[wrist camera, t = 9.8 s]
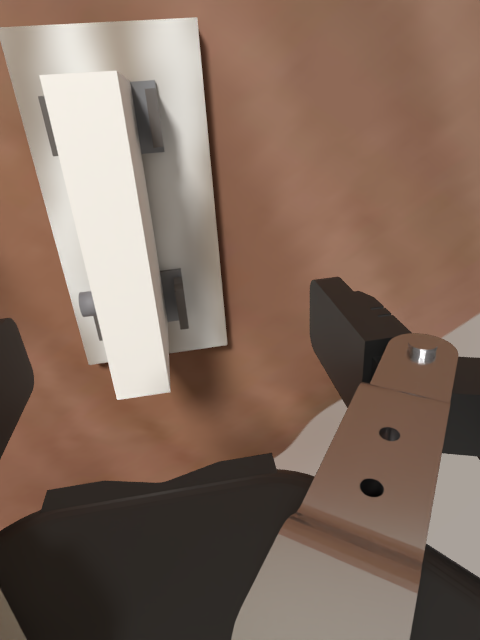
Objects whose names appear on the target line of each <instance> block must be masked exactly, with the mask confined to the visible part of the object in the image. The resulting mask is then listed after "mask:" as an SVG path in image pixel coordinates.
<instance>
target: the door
mask: <svg viewBox="0 0 480 640" xmlns="http://www.w3.org/2000/svg"><path fill="white" fill-rule="evenodd" d="M39 77H40V81H41V85H42V89H43V93H44V97H45V101H46V106H47V110H48V114H49V118H50V122H51V126H52V131H53V135H54V139H55V143H56V147H57V151H58V156H59V160H60V164H61V168H62V172H63V176H64V181H65V185H66V189H67V193H68V197H69V201H70V206H71V210H72V214H73V218H74V222H75V226H76V231H77V235H78V239H79V243H80V247H81V251H82V256H83V260H84V264H85V268H86V272H87V276H88V280H89V285H90V289H91V291H87V292H80V293H79V307H80V312H81V314H82V316H83V317H89V316H97V318H98V322H99V326H100V330H101V335H102V339H103V343H104V347H105V351H106V355H107V360H108V364H109V368H110V372H111V376H112V380H113V385H114V389H115V393H116V397H117V400H120V399H127V398H134V397H140V396H147V395H154V394H160V393H167V392H170V370H169V344H168V321H167V315H166V308H165V302H164V296H163V289H162V283H161V276H160V270H159V264H158V257H157V251H156V244H155V238H154V232H153V225H152V219H151V212H150V206H149V200H148V193H147V187H146V180H145V174H144V168H143V161H142V155H141V148H140V142H139V136H138V129H137V123H136V116H135V110H134V104H133V97H132V91H131V84H130V81H129V80H127V79H126V78H125V77H124V76H123V75H121V74H120V73H119V72H118V71H100V72H83V73H66V74H48V75H39Z"/></svg>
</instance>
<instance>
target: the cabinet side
mask: <svg viewBox="0 0 480 640" xmlns="http://www.w3.org/2000/svg"><path fill="white" fill-rule="evenodd" d="M0 41H1V45H2V48H3V52H4V56H5V59H6V63H7V67H8V70H9V74H10V78H11V81H12V85H13V89H14V92H15V96H16V100H17V103H18V107H19V111H20V114H21V118H22V122H23V125H24V129H25V133H26V136H27V140H28V144H29V147H30V151H31V155H32V158H33V162H34V166H35V169H36V173H37V177H38V180H39V184H40V188H41V191H42V195H43V199H44V202H45V206H46V210H47V213H48V217H49V221H50V224H51V228H52V232H53V235H54V239H55V243H56V246H57V250H58V254H59V257H60V261H61V265H62V268H63V272H64V276H65V279H66V283H67V287H68V290H69V294H70V298H71V301H72V305H73V309H74V312H75V316H76V320H77V323H78V327H79V331H80V334H81V338H82V342H83V345H84V349H85V353H86V356H87V360H88V363H89V365H92V364H99V363H106V362H108V360H107V355H106V351H105V347H104V343H103V339H102V335H101V330H100V326H99V322H98V318H97V316H89V317H83V316H82V314H81V312H80V307H79V293H80V292H87V291H91V289H90V285H89V280H88V276H87V272H86V268H85V264H84V260H83V256H82V251H81V247H80V243H79V239H78V235H77V231H76V226H75V222H74V218H73V214H72V210H71V206H70V201H69V197H68V193H67V189H66V185H65V181H64V176H63V172H62V168H61V164H60V160H59V156H58V151H57V147H56V143H55V139H54V135H53V131H52V126H51V122H50V118H49V114H48V110H47V106H46V101H45V97H44V93H43V89H42V85H41V81H40V77H39V75H48V74H66V73H83V72H100V71H118V72H119V73H120V74H121V75H123V76H124V77H125V78H126V79H127V80H129V81H130V84H131V91H132V97H133V104H134V110H135V116H136V123H137V129H138V136H139V142H140V148H141V155H142V161H143V168H144V174H145V180H146V187H147V193H148V200H149V206H150V212H151V219H152V225H153V232H154V238H155V244H156V251H157V257H158V264H159V270H160V276H161V283H162V289H163V296H164V302H165V308H166V315H167V321H168V344H169V353H175V352H182V351H189V350H196V349H203V348H210V347H217V346H224V345H227V334H226V323H225V312H224V302H223V291H222V280H221V269H220V258H219V248H218V237H217V226H216V215H215V204H214V194H213V183H212V172H211V161H210V151H209V140H208V129H207V118H206V107H205V97H204V86H203V75H202V64H201V53H200V43H199V32H198V21H197V18H178V19H158V20H138V21H119V22H99V23H79V24H59V25H40V26H20V27H0Z"/></svg>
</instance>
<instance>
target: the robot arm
mask: <svg viewBox="0 0 480 640" xmlns="http://www.w3.org/2000/svg"><path fill="white" fill-rule="evenodd" d="M310 338H311V343H312V347H313V350H314V352H315V354H316V355H317V357H318V359H319V360H320V362H321V364H322V365H323V367H324V369H325V371H326V372H327V374H328V376H329V377H330V379H331V381H332V382H333V384H334V386H335V388H336V389H337V391H338V393H339V394H340V396H341V398H342V400H343V401H344V403H345V404H346V406H347V408H348V409H347V411H346V413H345V415H344V417H343V419H342V421H341V423H340V425H339V428H338V430H337V432H336V434H335V436H334V438H333V440H332V442H331V444H330V446H329V448H328V451H327V452H326V454H325V457H324V459H323V461H322V463H321V465H320V467H319V469H318V471H317V473H316V475H315V477H314V476H311V475H308V474H304V473H300V472H296V471H289V470H278V469H276V466H275V463H274V459H273V456H272V453H269V454H263V455H257V456H251V457H245V458H239V459H233V460H227V461H221V462H217V463H214V464H212V465H209V466H206V467H204V468H201V469H198V470H196V471H193V472H190V473H188V474H185V475H182V476H180V477H177V478H175V479H172V480H169V481H166V482H162V483H147V482H122V481H100V482H94V483H88V484H82V485H76V486H70V487H64V488H58V489H52V490H47V493H46V496H45V499H44V503H43V506H42V509H41V510H40V511H37V512H35V513H32V514H30V515H28V516H26V517H24V518H22V519H20V520H18V521H16V522H14V523H13V524H11V525H9V526H7V527H6V528H4V529H3V530H1V531H0V640H480V578H479V577H478V576H476V575H474V574H473V573H471V572H470V571H468V570H467V569H465V568H463V567H462V566H460V565H459V564H457V563H456V562H454V561H452V560H451V559H449V558H448V557H446V556H445V555H443V554H442V553H440V552H438V551H437V550H435V549H434V548H432V547H431V546H429V545H428V544H426V540H427V534H428V528H429V523H430V517H431V511H432V506H433V500H434V494H435V488H436V483H437V477H438V472H439V466H440V460H441V454H442V453H447V454H457V455H469V456H477V457H478V458H479V460H480V358H470V357H469V358H468V357H458V351H457V349H456V348H455V347H454V346H453V345H452V344H451V343H449V342H448V341H445V340H444V339H441V338H439V337H436V336H432V335H427V334H419V333H411V332H410V331H409V330H408V329H407V328H406V327H405V326H404V325H403V324H402V323H401V322H400V321H399V320H398V319H397V318H395V317H394V316H393V315H391V313H390V312H389V311H388V310H387V309H386V308H384V307H383V305H382V304H381V303H380V302H379V301H377V300H376V299H375V298H374V297H372V296H370V295H367V294H365V293H363V292H360V291H355V292H354V291H353V290H352V289H351V288H350V287H349V286H348V285H347V284H346V283H345V282H344V281H343V280H342V279H341V278H340V277H332V278H324V279H317V280H312V281H311V285H310ZM33 386H34V375H33V370H32V367H31V364H30V361H29V358H28V355H27V353H26V350H25V347H24V344H23V341H22V339H21V336H20V333H19V330H18V328H17V325H16V323H15V322H14V321H13V320H12V319H11V318H4V319H0V458H1V456H2V454H3V452H4V450H5V448H6V446H7V444H8V441H9V439H10V437H11V435H12V433H13V431H14V429H15V427H16V425H17V422H18V420H19V418H20V416H21V414H22V412H23V410H24V408H25V406H26V403H27V401H28V399H29V397H30V395H31V393H32V390H33Z"/></svg>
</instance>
